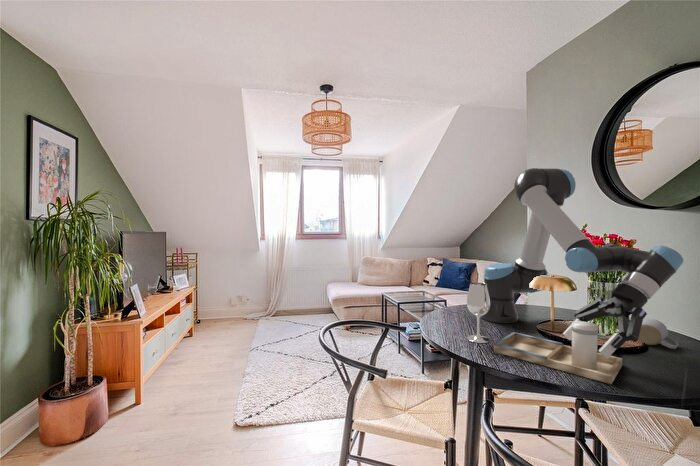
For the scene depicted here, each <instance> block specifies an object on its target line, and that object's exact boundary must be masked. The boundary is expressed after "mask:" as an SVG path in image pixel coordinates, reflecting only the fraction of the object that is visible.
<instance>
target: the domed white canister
mask: <svg viewBox="0 0 700 466" xmlns="http://www.w3.org/2000/svg"><path fill="white" fill-rule="evenodd" d="M573 321H574V320H573ZM573 321H572V322H571V323H572V339H571V347H572V365H575V366H579V367H583V368H587V369H590V370H596V369H597V353H598V339H599V338H598V336H599V335H598V334H599V329H598V328H599V325H598V324H596V323H593V322H590V321H588V322H584V321H574V322H573Z"/></svg>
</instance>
